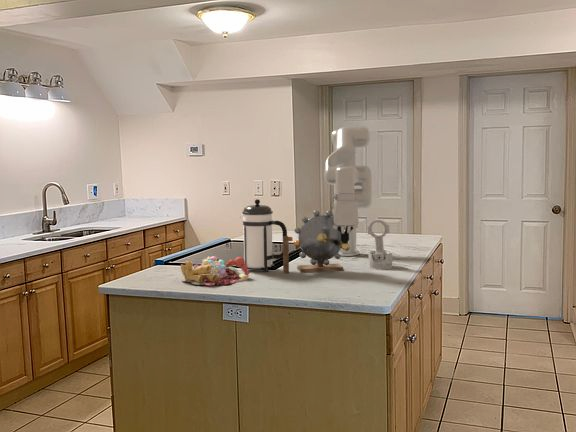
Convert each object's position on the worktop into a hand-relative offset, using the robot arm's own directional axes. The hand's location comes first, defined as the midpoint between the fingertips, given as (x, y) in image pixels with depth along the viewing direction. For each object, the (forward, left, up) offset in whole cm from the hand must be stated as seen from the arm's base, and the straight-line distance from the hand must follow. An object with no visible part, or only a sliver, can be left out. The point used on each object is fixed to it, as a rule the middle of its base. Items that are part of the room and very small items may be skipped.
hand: (344, 242), depth 242 cm
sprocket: (-11, -13, -6) cm, 18 cm away
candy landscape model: (-28, -45, -13) cm, 55 cm away
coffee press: (-30, -19, -13) cm, 38 cm away
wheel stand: (-14, -5, -13) cm, 20 cm away
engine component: (+1, +21, -13) cm, 24 cm away
